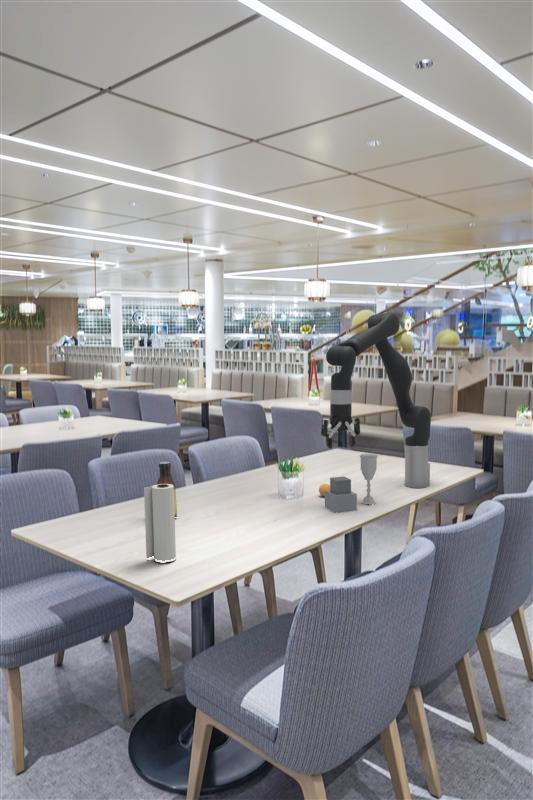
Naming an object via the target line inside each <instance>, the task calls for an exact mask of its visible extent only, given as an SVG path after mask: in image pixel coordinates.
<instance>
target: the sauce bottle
mask: <svg viewBox="0 0 533 800" xmlns="http://www.w3.org/2000/svg"><path fill="white" fill-rule="evenodd" d="M171 464H172V463H171V462H170V461H160V462H158V468H159V478H158V480H157V482H156V485H158V484H172V485H174V511H175V517H177V518H178V508H177V507H178V505H177V503H178V502H177V493H176V492H177V490H176V483H175V482H174V479H173V475H172V471H171V466H172V465H171Z"/></svg>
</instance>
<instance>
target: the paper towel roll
mask: <svg viewBox="0 0 533 800" xmlns="http://www.w3.org/2000/svg"><path fill="white" fill-rule="evenodd" d="M143 496H144V497H143V498H144V525H145V526H144V527H145V529H144V530H145V552H146V554H145V557H146V558H149V557H152V556H154V558H155V559H157V560H162V561H165V560H171V559H174V558H175V557H176V558H177V555H176V553H177V551H176V519H175V511H174V485H172V484H158V485H157V484H153V485H152V484H151V485H150V486H147V487H146V486H145V487H144V488H143Z"/></svg>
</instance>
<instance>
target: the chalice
mask: <svg viewBox="0 0 533 800" xmlns="http://www.w3.org/2000/svg"><path fill="white" fill-rule="evenodd" d="M359 458H360V470H361V474H362V475H363V478H364V480H365V481H367V482H366V492H367V493H366V496H364V497H363V500H362V501H361V504H362V503H363V504H362V505H364V504H369V505H368V506H371V505H370V504H374V505H375V504H376V502H375V499H374V497H373V496H371V491H372V489H371V488H370V487H371V481H372V480H373V479H374V477H375V475H376V472H377V462H378V455H377V454H376V453H362V454H359Z"/></svg>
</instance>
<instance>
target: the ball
mask: <svg viewBox="0 0 533 800" xmlns="http://www.w3.org/2000/svg"><path fill="white" fill-rule="evenodd" d="M327 490H330V484H328V483H322V484H320V486H319V488H318V492H319V494H320V495H321V496H322V497H324V498H325V491H327Z"/></svg>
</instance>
